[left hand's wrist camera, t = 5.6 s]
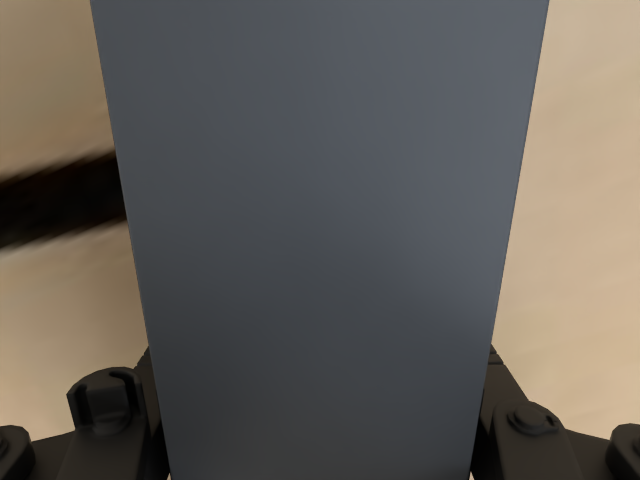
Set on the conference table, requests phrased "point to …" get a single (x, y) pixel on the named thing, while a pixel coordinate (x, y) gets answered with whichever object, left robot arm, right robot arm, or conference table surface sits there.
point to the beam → (319, 222)
